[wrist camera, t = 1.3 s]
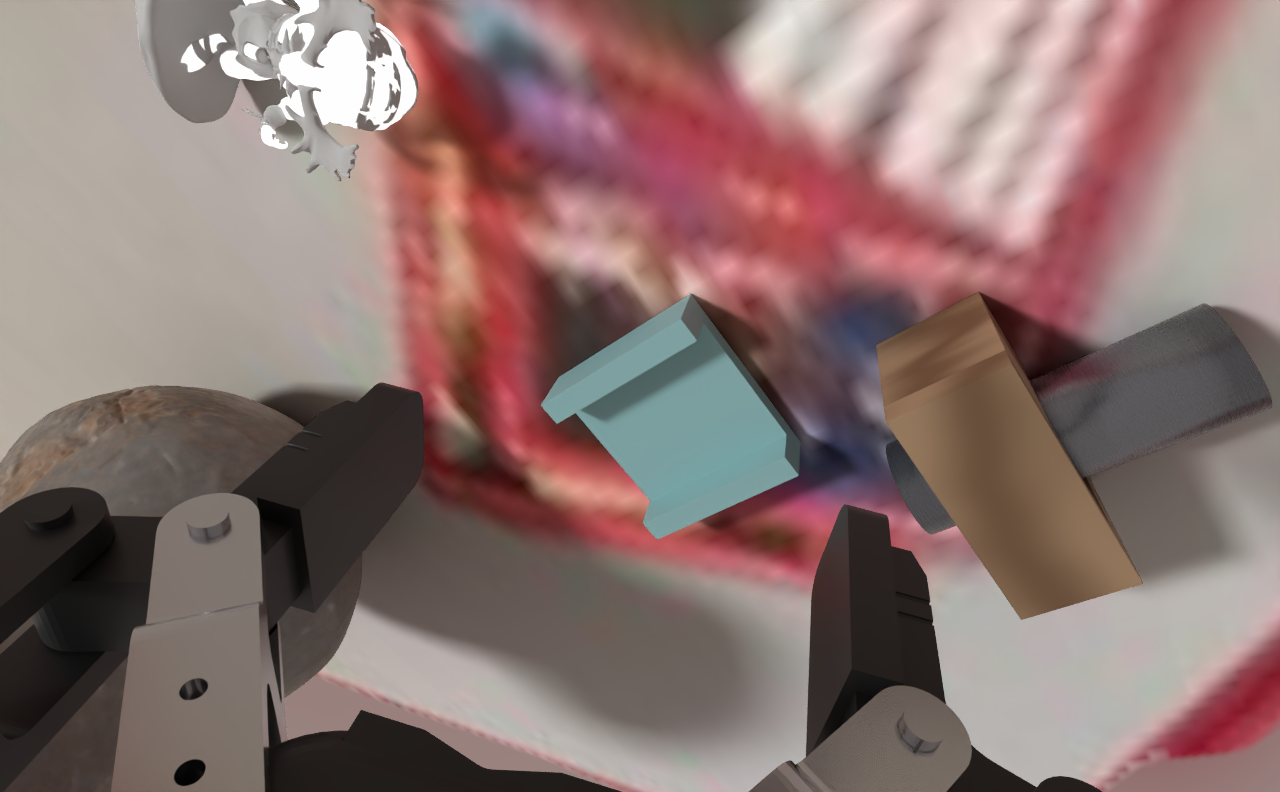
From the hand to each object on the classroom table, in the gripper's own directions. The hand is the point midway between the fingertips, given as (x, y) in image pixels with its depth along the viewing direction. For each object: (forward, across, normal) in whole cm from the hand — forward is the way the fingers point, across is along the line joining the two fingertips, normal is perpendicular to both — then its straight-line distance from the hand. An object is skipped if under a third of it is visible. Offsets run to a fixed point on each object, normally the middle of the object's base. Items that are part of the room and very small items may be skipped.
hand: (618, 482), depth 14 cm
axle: (+23, -16, +8) cm, 29 cm away
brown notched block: (+22, -14, +9) cm, 28 cm away
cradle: (+22, +1, +13) cm, 26 cm away
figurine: (+23, +20, -2) cm, 31 cm away
